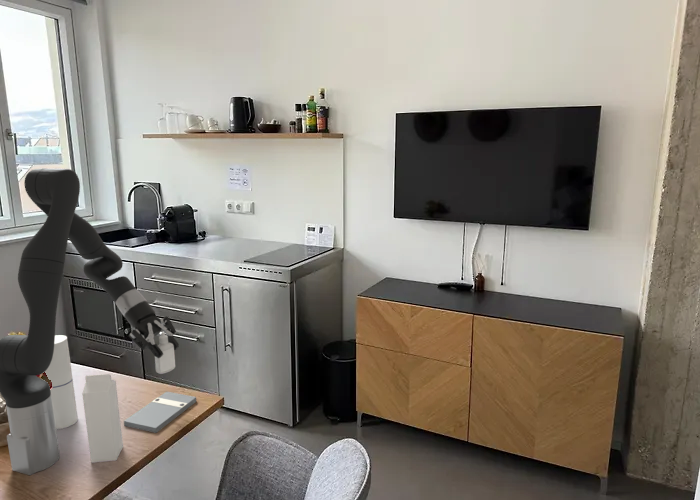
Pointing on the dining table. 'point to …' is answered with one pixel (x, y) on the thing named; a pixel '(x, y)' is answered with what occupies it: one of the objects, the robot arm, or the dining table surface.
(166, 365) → the eye dropper bottle
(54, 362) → the cylindrical container
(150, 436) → the dining table surface
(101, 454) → the milk
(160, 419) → the floor panel
